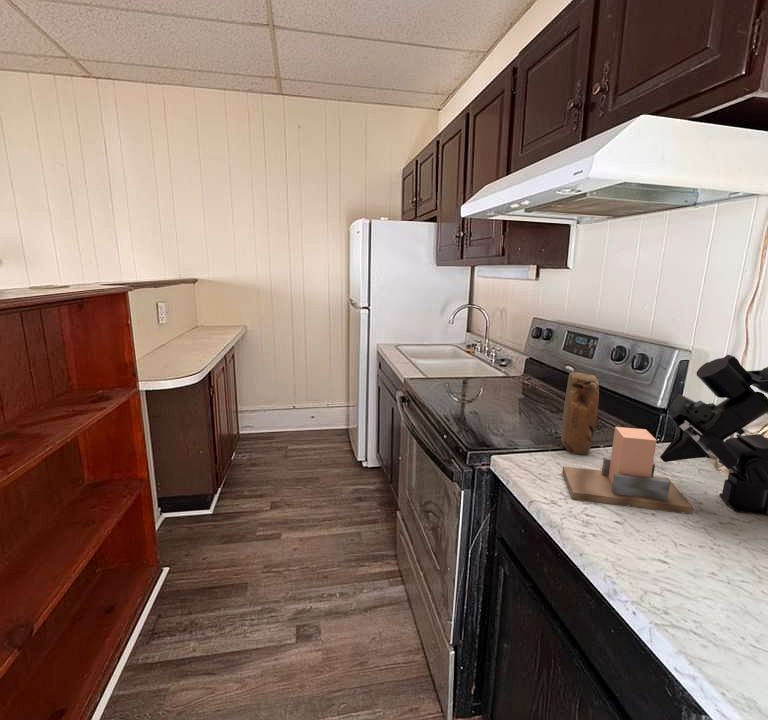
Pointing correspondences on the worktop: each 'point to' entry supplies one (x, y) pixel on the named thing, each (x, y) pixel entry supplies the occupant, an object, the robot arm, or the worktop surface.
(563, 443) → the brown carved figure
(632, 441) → the block
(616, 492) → the chute
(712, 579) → the worktop surface
